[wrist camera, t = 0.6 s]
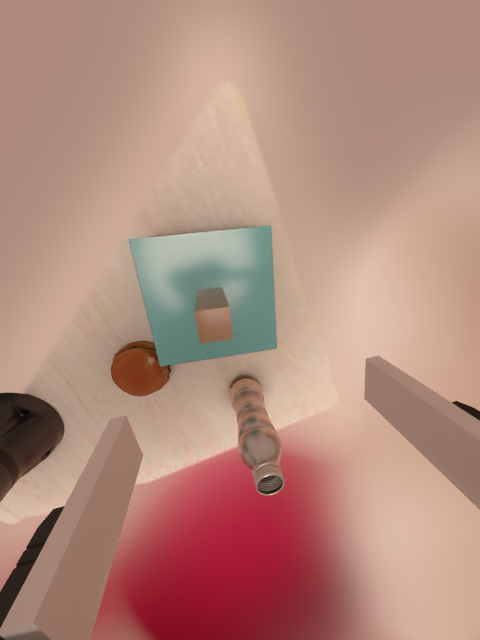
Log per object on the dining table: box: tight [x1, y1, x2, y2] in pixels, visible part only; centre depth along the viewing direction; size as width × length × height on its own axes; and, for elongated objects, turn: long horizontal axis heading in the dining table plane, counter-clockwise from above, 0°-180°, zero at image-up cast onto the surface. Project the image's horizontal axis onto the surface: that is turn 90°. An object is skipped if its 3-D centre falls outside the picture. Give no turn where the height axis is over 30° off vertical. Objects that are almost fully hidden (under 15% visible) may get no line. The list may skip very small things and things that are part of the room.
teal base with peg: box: [129, 225, 277, 366], centre depth 29 cm, size 16×16×20 cm
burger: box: [111, 341, 171, 396], centre depth 40 cm, size 10×9×5 cm
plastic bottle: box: [230, 378, 284, 495], centre depth 37 cm, size 6×7×20 cm
